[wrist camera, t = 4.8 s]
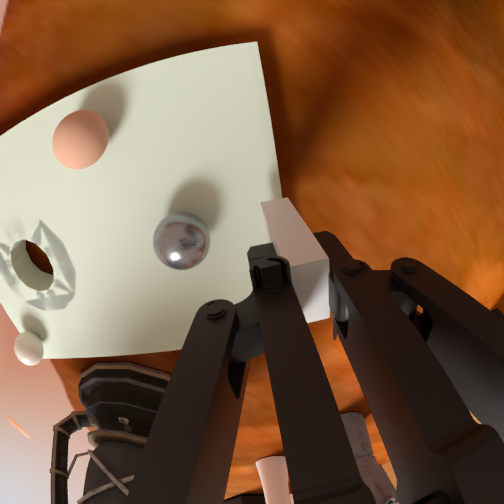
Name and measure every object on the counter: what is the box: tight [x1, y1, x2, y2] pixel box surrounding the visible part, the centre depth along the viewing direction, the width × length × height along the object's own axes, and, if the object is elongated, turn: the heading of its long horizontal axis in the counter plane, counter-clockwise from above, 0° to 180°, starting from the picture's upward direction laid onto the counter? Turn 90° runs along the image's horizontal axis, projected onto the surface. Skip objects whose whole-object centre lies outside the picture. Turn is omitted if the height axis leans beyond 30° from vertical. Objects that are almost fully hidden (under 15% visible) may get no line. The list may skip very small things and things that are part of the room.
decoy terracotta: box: [52, 110, 109, 169], centre depth 12 cm, size 3×3×3 cm
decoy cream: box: [14, 332, 44, 366], centre depth 19 cm, size 3×3×3 cm
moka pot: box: [340, 412, 399, 504], centre depth 29 cm, size 10×15×20 cm, turn 175°
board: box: [0, 42, 282, 358], centre depth 18 cm, size 20×26×2 cm
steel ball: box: [153, 212, 210, 270], centre depth 15 cm, size 3×3×3 cm
